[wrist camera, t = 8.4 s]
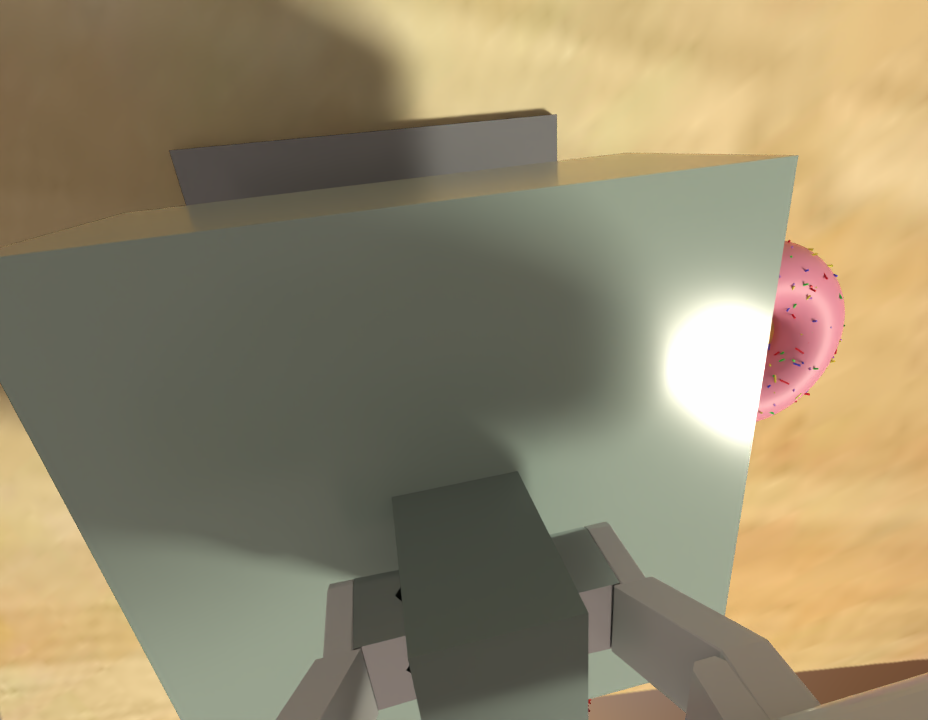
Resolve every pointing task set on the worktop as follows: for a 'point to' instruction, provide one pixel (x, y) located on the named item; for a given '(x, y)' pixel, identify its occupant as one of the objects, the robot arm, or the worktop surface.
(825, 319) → the doughnut
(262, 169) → the bar
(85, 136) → the worktop surface
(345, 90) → the worktop surface
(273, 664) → the cover
